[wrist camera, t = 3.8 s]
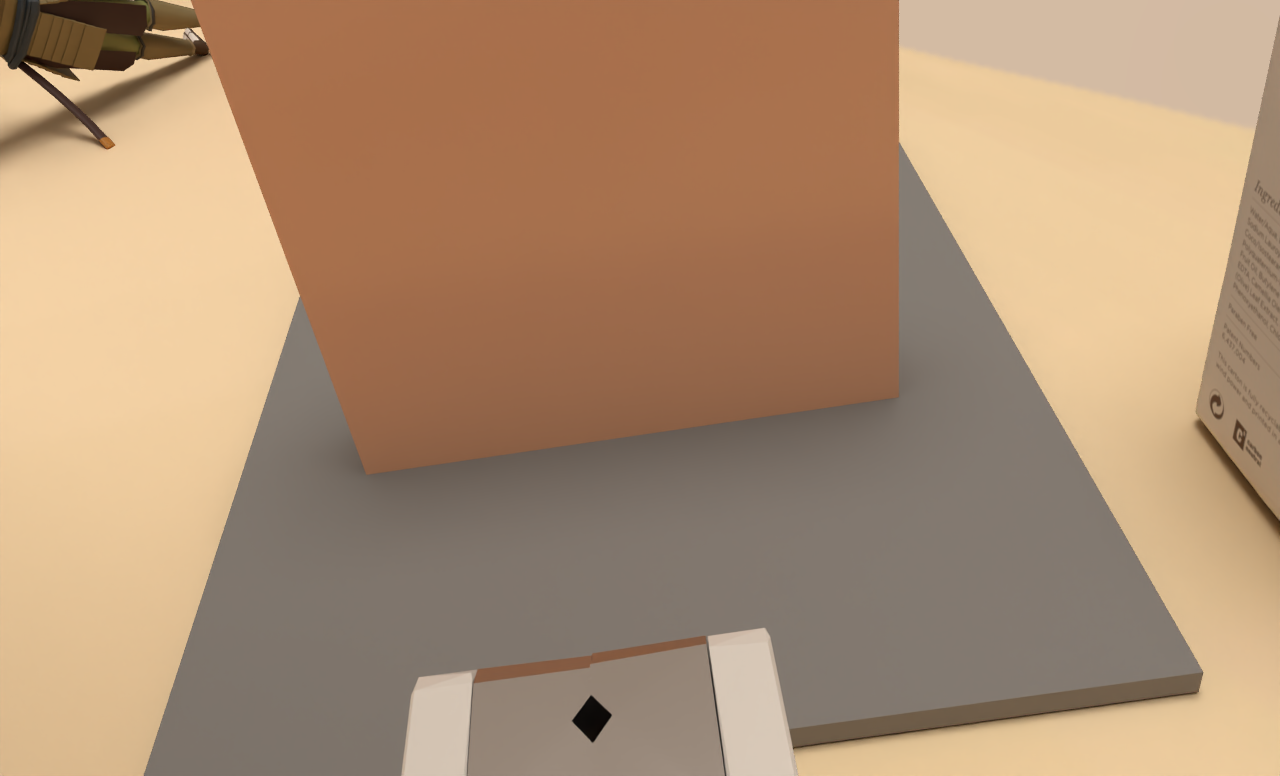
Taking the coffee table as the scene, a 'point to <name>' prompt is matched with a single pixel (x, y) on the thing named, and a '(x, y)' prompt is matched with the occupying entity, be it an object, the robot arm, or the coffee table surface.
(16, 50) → the samurai figurine
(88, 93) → the coffee table surface
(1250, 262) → the skincare box
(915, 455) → the mat
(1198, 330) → the coffee table surface
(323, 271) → the tile
